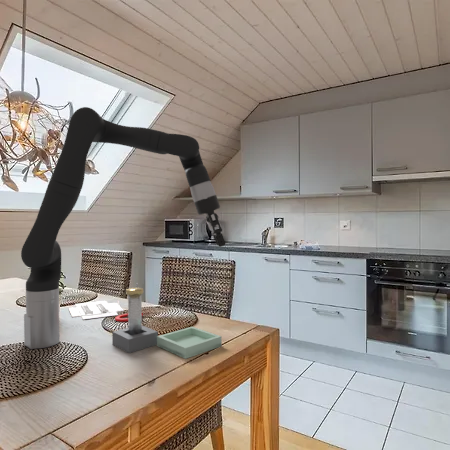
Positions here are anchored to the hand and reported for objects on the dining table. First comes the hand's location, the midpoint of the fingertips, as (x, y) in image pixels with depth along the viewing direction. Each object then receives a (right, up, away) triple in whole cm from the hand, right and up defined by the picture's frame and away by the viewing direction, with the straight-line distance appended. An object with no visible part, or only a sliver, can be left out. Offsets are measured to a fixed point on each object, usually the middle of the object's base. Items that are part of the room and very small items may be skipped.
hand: (221, 245), depth 117 cm
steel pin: (-27, -31, -5) cm, 41 cm away
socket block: (-27, -31, -5) cm, 41 cm away
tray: (-10, -31, -7) cm, 33 cm away
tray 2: (-54, -31, +37) cm, 72 cm away
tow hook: (-36, -30, +23) cm, 53 cm away
